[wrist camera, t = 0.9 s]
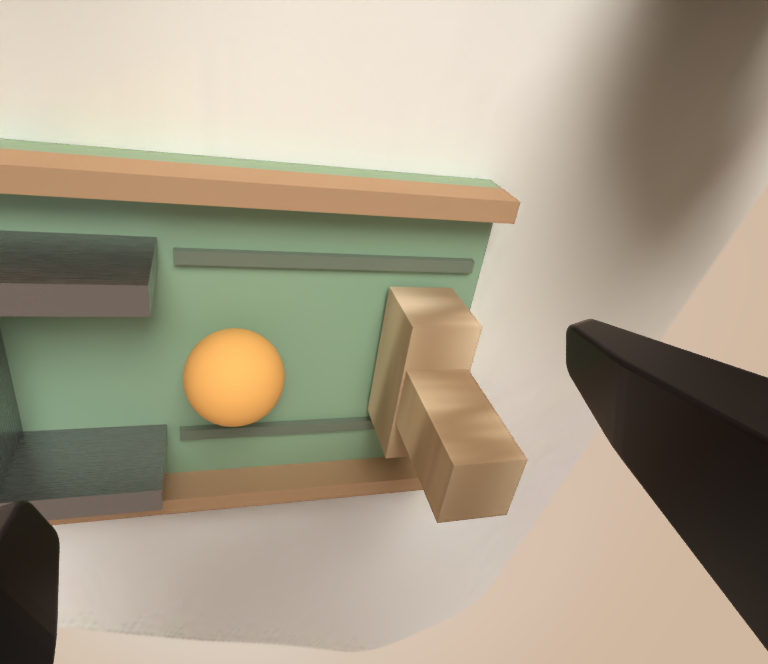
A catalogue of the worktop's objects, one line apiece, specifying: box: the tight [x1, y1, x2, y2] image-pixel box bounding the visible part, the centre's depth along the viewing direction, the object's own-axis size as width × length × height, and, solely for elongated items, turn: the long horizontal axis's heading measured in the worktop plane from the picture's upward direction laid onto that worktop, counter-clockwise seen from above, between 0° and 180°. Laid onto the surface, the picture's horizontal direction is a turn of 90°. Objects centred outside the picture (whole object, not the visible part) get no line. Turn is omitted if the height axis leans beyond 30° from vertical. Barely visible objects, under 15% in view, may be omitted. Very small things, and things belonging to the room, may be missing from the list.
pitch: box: [0, 139, 520, 525], centre depth 21 cm, size 18×14×2 cm
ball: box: [183, 328, 285, 427], centre depth 20 cm, size 4×4×4 cm
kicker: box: [368, 287, 527, 523], centre depth 20 cm, size 3×6×8 cm, turn 171°
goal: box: [0, 230, 168, 521], centre depth 18 cm, size 6×9×4 cm, turn 171°
